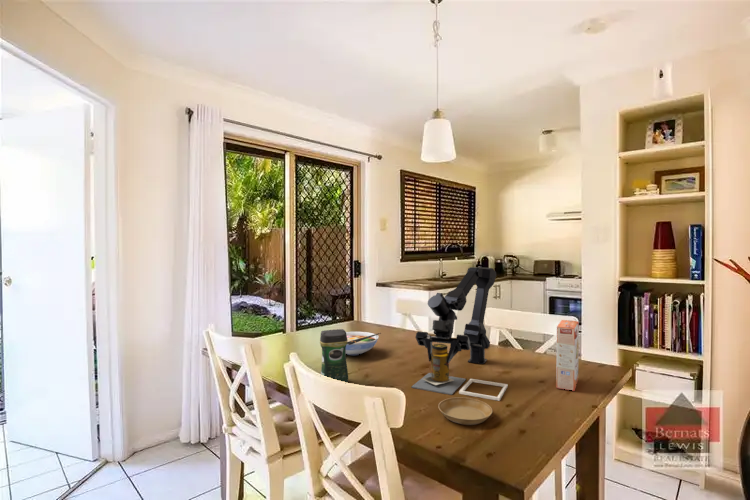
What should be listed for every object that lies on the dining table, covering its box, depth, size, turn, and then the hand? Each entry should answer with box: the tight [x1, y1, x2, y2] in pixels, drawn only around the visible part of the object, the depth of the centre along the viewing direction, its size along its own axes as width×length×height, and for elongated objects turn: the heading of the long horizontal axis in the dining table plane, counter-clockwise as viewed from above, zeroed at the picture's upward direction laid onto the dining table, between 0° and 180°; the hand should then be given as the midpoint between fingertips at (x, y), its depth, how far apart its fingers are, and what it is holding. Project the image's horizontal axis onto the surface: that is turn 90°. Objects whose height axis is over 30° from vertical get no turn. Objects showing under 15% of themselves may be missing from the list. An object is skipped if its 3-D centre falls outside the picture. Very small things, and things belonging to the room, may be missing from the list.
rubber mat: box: [411, 372, 467, 396], centre depth 134 cm, size 16×14×1 cm
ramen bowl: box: [346, 331, 382, 356], centre depth 174 cm, size 25×23×8 cm
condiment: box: [422, 343, 454, 385], centre depth 135 cm, size 7×8×12 cm
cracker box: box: [555, 319, 580, 392], centre depth 133 cm, size 14×6×21 cm, turn 148°
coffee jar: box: [319, 328, 349, 383], centre depth 136 cm, size 10×8×19 cm
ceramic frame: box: [458, 378, 508, 402], centre depth 128 cm, size 14×13×1 cm
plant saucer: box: [437, 396, 493, 426], centre depth 109 cm, size 15×15×3 cm
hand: (438, 361), depth 133 cm, fingers closed on condiment, 6 cm apart
